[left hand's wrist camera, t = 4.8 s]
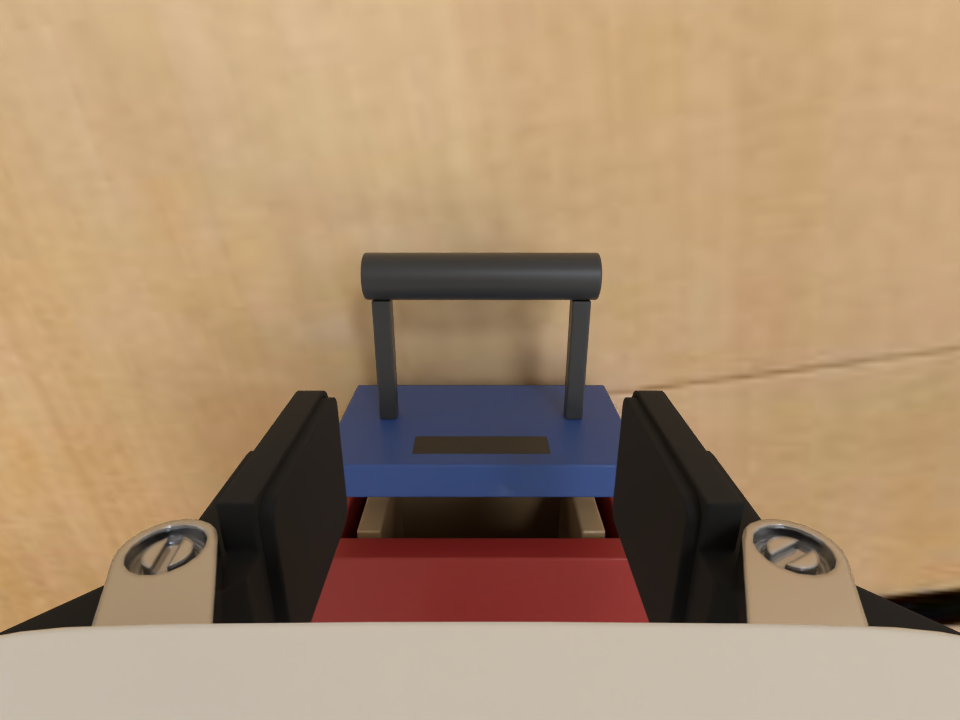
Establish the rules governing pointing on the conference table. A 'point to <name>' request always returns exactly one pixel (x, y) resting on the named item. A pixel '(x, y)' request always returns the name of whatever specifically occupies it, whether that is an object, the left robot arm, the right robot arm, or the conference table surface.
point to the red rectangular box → (479, 578)
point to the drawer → (480, 415)
